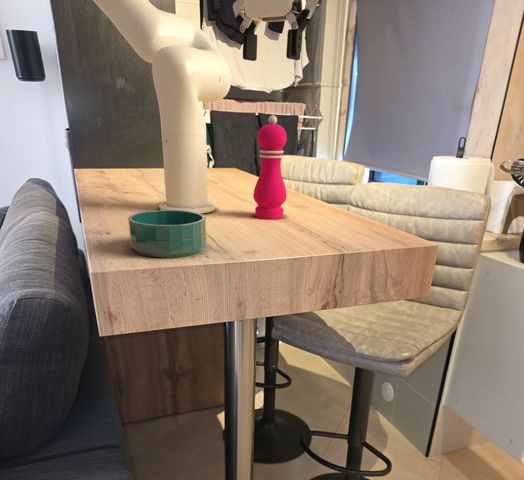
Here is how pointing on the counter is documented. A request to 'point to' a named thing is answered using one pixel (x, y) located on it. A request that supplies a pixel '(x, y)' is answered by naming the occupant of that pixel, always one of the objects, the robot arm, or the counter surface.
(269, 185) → the pepper mill
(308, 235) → the counter surface
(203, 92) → the robot arm
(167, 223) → the bowl
